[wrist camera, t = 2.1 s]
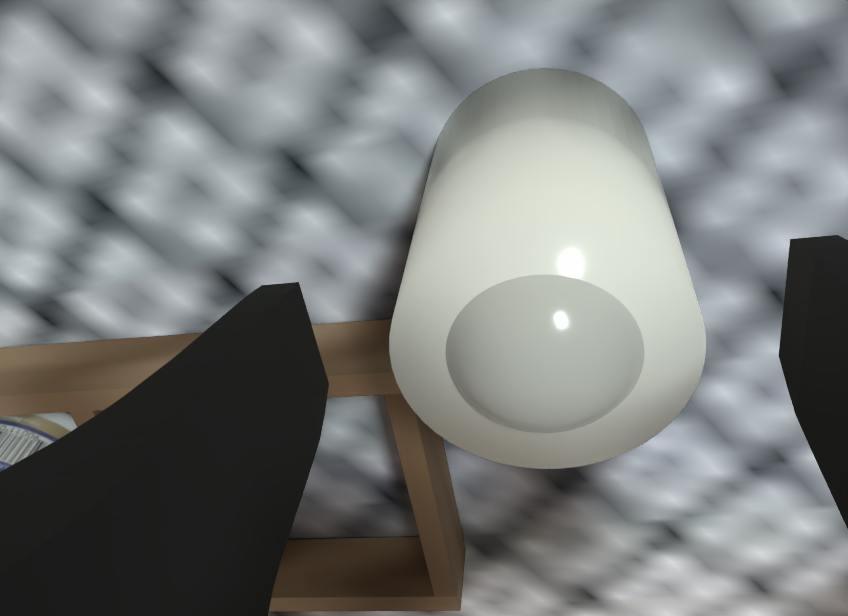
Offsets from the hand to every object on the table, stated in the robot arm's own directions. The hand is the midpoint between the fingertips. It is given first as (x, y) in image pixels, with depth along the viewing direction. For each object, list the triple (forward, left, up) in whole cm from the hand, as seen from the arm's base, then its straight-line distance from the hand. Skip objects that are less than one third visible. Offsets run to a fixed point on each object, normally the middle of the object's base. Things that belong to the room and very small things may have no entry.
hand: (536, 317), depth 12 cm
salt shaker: (0, 0, -5) cm, 5 cm away
